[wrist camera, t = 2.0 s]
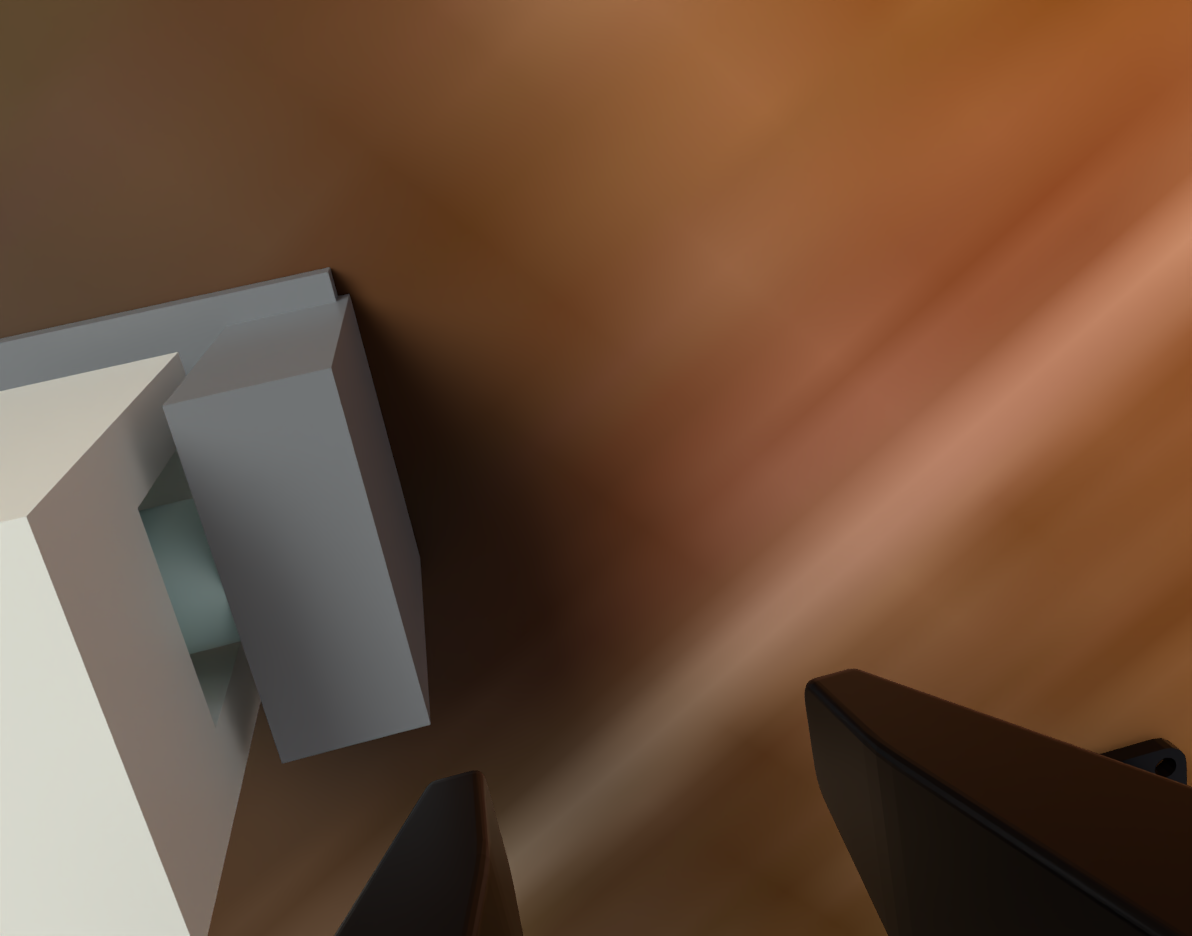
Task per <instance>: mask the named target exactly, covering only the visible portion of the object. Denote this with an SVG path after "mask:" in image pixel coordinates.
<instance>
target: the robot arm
mask: <svg viewBox="0 0 1192 936" xmlns="http://www.w3.org/2000/svg"><path fill="white" fill-rule="evenodd" d="M805 705H806V712H807V719H808V725H809V732H810V739H811V745H812V752H813V759H814V765H815V771H816V776H817V780H818V783H819V786H820V790H821V792H822V795H823V798H824V800H825V802H826V804H827V807H828V809H829V811H830V813H831V815H832V817H833V819H834V821H835V823H836V826H837V828H838V830H839V832H840V834H841V836H842V838H843V840H844V843H845V845H846V847H847V849H848V851H849V853H850V855H851V857H852V860H853V862H854V864H855V866H856V868H857V870H858V872H859V874H860V876H861V879H862V881H863V883H864V885H865V887H866V889H867V891H868V893H869V896H870V898H871V900H872V902H873V904H874V906H875V908H876V910H877V913H878V915H879V917H880V919H881V921H882V923H883V925H884V927H885V929H886V932H887V934H888V936H1192V787H1191V786H1188V785H1187V768H1186V758H1185V755H1184V754H1183V753H1182V752H1181V751H1180V750H1179V749H1178V748H1177V747H1176V746H1174V745H1173V744H1172V743H1171V742H1169V741H1168V740H1165V739H1162V738H1158V739H1151V740H1148V741H1144V742H1141V743H1137V744H1134V745H1130V746H1127V747H1123V748H1120V749H1116V750H1113V751H1109V752H1106V753H1102V754H1097V753H1094V752H1091V751H1089V750H1086V749H1083V748H1080V747H1077V746H1074V745H1072V744H1069V743H1066V742H1063V741H1060V740H1057V739H1055V738H1052V737H1049V736H1046V735H1043V734H1040V733H1037V732H1035V731H1032V730H1029V729H1026V728H1023V727H1020V726H1018V725H1015V724H1012V723H1009V722H1006V721H1003V720H1001V719H998V718H995V717H992V716H989V715H986V714H984V713H981V712H978V711H975V710H972V709H969V708H966V707H964V706H961V705H958V704H955V703H952V702H949V701H947V700H944V699H941V698H938V697H935V696H932V695H930V694H927V693H924V692H921V691H918V690H915V689H913V688H910V687H907V686H904V685H901V684H898V683H896V682H893V681H890V680H887V679H884V678H881V677H878V676H876V675H873V674H870V673H867V672H864V671H861V670H858V669H847V670H843V671H839V672H836V673H832V674H828V675H825V676H821V677H817V678H814V679H812V680H810V681H809V682H808V683H807V685H806V688H805ZM1162 759H1163V761H1162V762H1161V764H1160V765H1158V766H1157V767H1156V765H1157V764H1158V763H1159V761H1161V760H1162ZM334 936H523V932H522V927H521V922H520V916H519V911H518V906H517V901H516V896H515V891H514V885H513V881H512V876H511V872H510V867H509V863H508V859H507V855H506V852H505V848H504V844H503V840H502V837H501V833H500V829H499V825H498V822H497V818H496V814H495V810H494V807H493V803H492V799H491V795H490V792H489V788H488V785H487V781H486V779H485V776H484V775H483V774H482V773H481V772H480V771H469V772H465V773H462V774H458V775H454V776H450V777H447V778H443V779H439V780H436V781H433V782H432V783H430V784H429V785H428V786H427V788H426V789H425V791H424V792H423V794H422V796H421V797H420V799H419V800H418V802H417V804H416V805H415V807H414V808H413V810H412V812H411V813H410V815H409V816H408V818H407V820H406V821H405V823H404V824H403V826H402V828H401V829H400V831H399V833H398V834H397V836H396V837H395V839H394V841H393V842H392V844H391V845H390V847H389V849H388V850H387V852H386V853H385V855H384V857H383V858H382V860H381V861H380V863H379V865H378V866H377V868H376V869H375V871H374V873H373V874H372V876H371V877H370V879H369V881H368V882H367V884H366V886H365V887H364V889H363V890H362V892H361V894H360V895H359V897H358V898H357V900H356V902H355V903H354V905H353V906H352V908H351V910H350V911H349V913H348V914H347V916H346V918H345V919H344V921H343V922H342V924H341V926H340V927H339V929H338V930H337V932H336V934H335V935H334Z"/></svg>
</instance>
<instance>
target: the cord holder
mask: <svg viewBox="0 0 1192 936" xmlns="http://www.w3.org/2000/svg"><path fill="white" fill-rule="evenodd" d="M175 352H178V353H179V356H180V359H181V362H182V365H183V368H184V371H185V374H186V377H185V378H184V380H183V381H182V382H181V383H180V385H179V386H178V387H177V388H176V390H175V391H174V392H173V393H172V395H171V396H170V397H169V398H168V399H167V401H166V402H165V403H164V404H163V406H162V407H163V410H164V413H165V416H166V419H167V422H168V425H169V428H170V431H171V434H172V437H173V440H174V443H175V446H176V449H177V452H178V455H179V458H180V461H181V464H182V467H183V470H184V472H185V475H186V478H187V481H188V484H189V487H190V490H191V493H192V496H193V498H191V499H187V500H183V501H178V502H174V503H170V504H166V505H161V506H157V507H153V508H149V509H144V510H140V511H139V513H140V516H141V519H142V522H143V525H144V528H145V530H146V533H147V536H148V539H149V542H150V545H151V547H152V550H153V553H154V556H155V559H156V561H157V564H158V567H159V570H160V573H161V576H162V578H163V581H164V584H165V587H166V590H167V593H168V595H169V598H170V601H171V604H172V607H173V609H174V612H175V615H176V618H177V621H178V624H179V626H180V629H181V632H182V635H183V638H184V641H185V643H186V646H187V649H188V652H189V654H193V653H197V652H201V651H205V650H209V649H213V648H217V647H221V646H225V645H229V644H233V643H237V642H241V643H242V646H243V649H244V652H245V655H246V658H247V661H248V663H249V666H250V669H251V672H252V675H253V678H254V681H255V684H256V687H257V690H258V693H259V696H260V699H261V702H262V705H263V708H264V711H265V714H266V717H267V720H268V723H269V726H270V729H271V732H272V735H273V738H274V741H275V744H276V747H277V750H278V753H279V756H280V759H281V762H282V763H286V762H290V761H294V760H297V759H301V758H305V757H309V756H313V755H317V754H320V753H324V752H328V751H332V750H336V749H339V748H343V747H347V746H351V745H355V744H358V743H362V742H366V741H370V740H374V739H377V738H381V737H385V736H389V735H393V734H396V733H400V732H404V731H408V730H412V729H416V728H419V727H423V726H427V725H431V721H430V705H429V689H428V673H427V658H426V642H425V626H424V610H423V594H422V578H421V563H420V555H419V552H418V548H417V544H416V540H415V537H414V533H413V529H412V526H411V522H410V518H409V514H408V511H407V507H406V503H405V499H404V496H403V492H402V488H401V484H400V481H399V477H398V473H397V469H396V466H395V462H394V458H393V454H392V451H391V447H390V443H389V440H388V436H387V432H386V428H385V425H384V421H383V417H382V413H381V410H380V406H379V402H378V398H377V395H376V391H375V387H374V383H373V380H372V376H371V372H370V369H369V365H368V361H367V357H366V354H365V350H364V346H363V342H362V339H361V335H360V331H359V327H358V324H357V320H356V316H355V312H354V309H353V305H352V301H351V297H350V294H346V295H341V296H338V295H337V291H336V288H335V284H334V280H333V277H332V273H331V269H330V267H329V268H324V269H320V270H315V271H310V272H306V273H301V274H297V275H292V276H287V277H283V278H278V279H274V280H269V281H264V282H260V283H255V284H250V285H246V286H241V287H237V288H232V289H227V290H223V291H218V292H214V293H209V294H204V295H200V296H195V297H190V298H186V299H181V300H177V301H172V302H167V303H163V304H158V305H154V306H149V307H144V308H140V309H135V310H131V311H126V312H121V313H117V314H112V315H107V316H103V317H98V318H94V319H89V320H84V321H80V322H75V323H71V324H66V325H61V326H57V327H52V328H48V329H43V330H38V331H34V332H29V333H24V334H20V335H15V336H11V337H6V338H1V339H0V391H4V390H8V389H13V388H17V387H22V386H26V385H31V384H35V383H40V382H45V381H49V380H54V379H58V378H63V377H67V376H72V375H76V374H81V373H85V372H90V371H94V370H99V369H103V368H108V367H112V366H117V365H121V364H126V363H130V362H135V361H139V360H144V359H148V358H153V357H157V356H162V355H166V354H171V353H175Z"/></svg>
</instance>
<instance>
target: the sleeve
mask: <svg viewBox="0 0 1192 936" xmlns="http://www.w3.org/2000/svg"><path fill="white" fill-rule="evenodd" d="M185 377H186V374H185V371H184V368H183V365H182V362H181V359H180V356H179V353H178V352H175V353H171V354H166V355H162V356H157V357H153V358H148V359H144V360H139V361H135V362H130V363H126V364H121V365H117V366H112V367H108V368H103V369H99V370H94V371H90V372H85V373H81V374H76V375H72V376H67V377H63V378H58V379H54V380H49V381H45V382H40V383H35V384H31V385H26V386H22V387H17V388H13V389H8V390H4V391H0V936H207V935H208V931H209V926H210V922H211V918H212V913H213V909H214V904H215V900H216V896H217V891H218V887H219V882H220V878H221V873H222V869H223V865H224V860H225V856H226V851H227V847H228V843H229V838H230V834H231V829H232V825H233V821H234V816H235V812H236V807H237V803H238V799H239V794H240V790H241V785H242V781H243V777H244V772H245V768H246V763H247V759H248V754H249V750H250V746H251V741H252V737H253V732H254V728H255V724H256V719H257V715H258V710H259V706H260V702H261V699H260V696H259V693H258V690H257V687H256V684H255V681H254V678H253V675H252V672H251V669H250V666H249V663H248V661H247V658H246V655H245V652H244V649H243V646H242V643H241V642H237V643H233V644H229V645H225V646H221V647H217V648H213V649H209V650H205V651H201V652H197V653H193V654H189V652H188V649H187V646H186V643H185V641H184V638H183V635H182V632H181V629H180V626H179V624H178V621H177V618H176V615H175V612H174V609H173V607H172V604H171V601H170V598H169V595H168V593H167V590H166V587H165V584H164V581H163V578H162V576H161V573H160V570H159V567H158V564H157V561H156V559H155V556H154V553H153V550H152V547H151V545H150V542H149V539H148V536H147V533H146V530H145V528H144V525H143V522H142V519H141V516H140V513H139V511H140V510H144V509H149V508H153V507H157V506H161V505H166V504H170V503H174V502H178V501H183V500H187V499H191V498H193V496H192V493H191V490H190V487H189V484H188V481H187V478H186V475H185V472H184V470H183V467H182V464H181V461H180V458H179V455H178V452H177V449H176V446H175V443H174V440H173V437H172V434H171V431H170V428H169V425H168V422H167V419H166V416H165V413H164V410H163V407H162V406H163V404H164V403H165V402H166V401H167V399H168V398H169V397H170V396H171V395H172V393H173V392H174V391H175V390H176V388H177V387H178V386H179V385H180V383H181V382H182V381H183V380H184V378H185Z"/></svg>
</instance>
